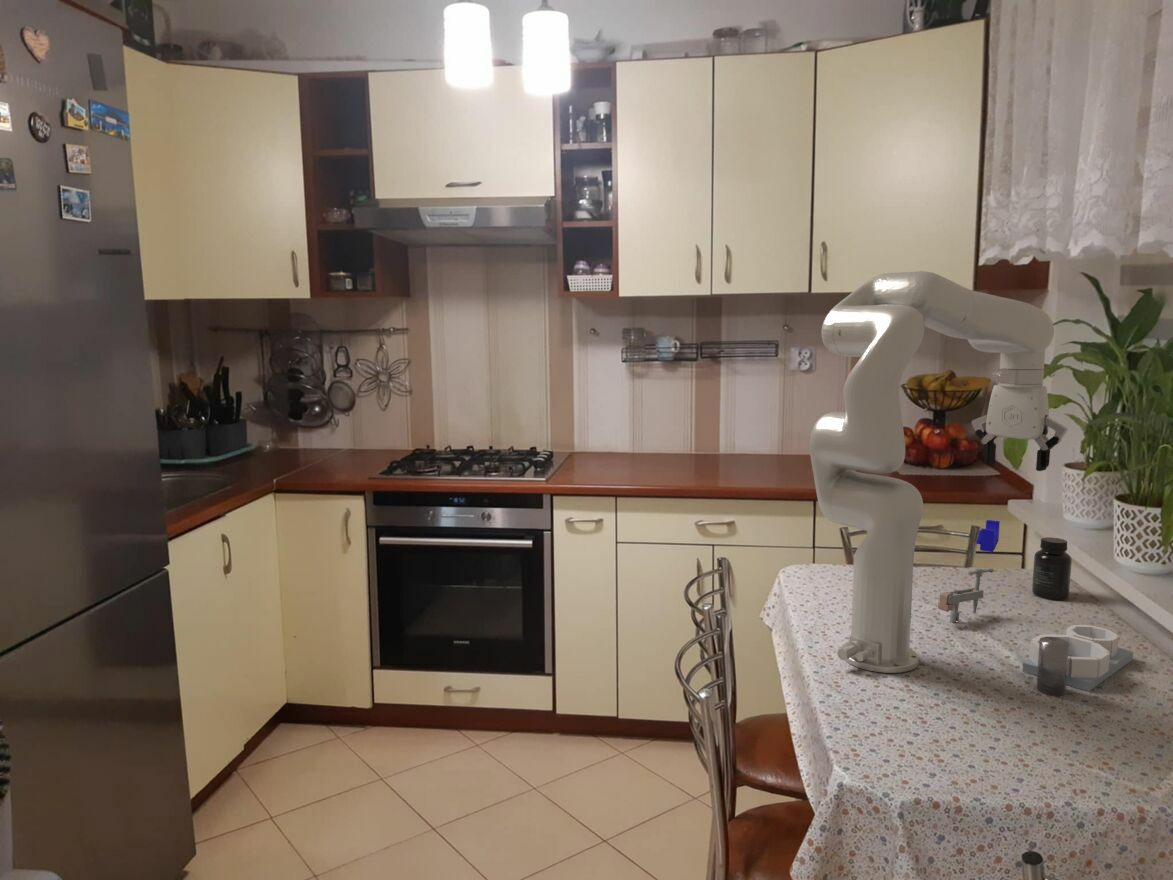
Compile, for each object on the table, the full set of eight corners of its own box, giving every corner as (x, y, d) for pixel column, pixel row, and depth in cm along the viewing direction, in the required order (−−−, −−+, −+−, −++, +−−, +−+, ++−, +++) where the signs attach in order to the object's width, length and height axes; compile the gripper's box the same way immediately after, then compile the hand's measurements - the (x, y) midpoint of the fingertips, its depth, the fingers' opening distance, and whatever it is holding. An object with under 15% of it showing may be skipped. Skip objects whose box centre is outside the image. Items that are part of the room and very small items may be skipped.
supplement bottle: (1049, 589, 180) (1053, 534, 179) (1076, 598, 174) (1081, 542, 172) (1024, 592, 178) (1027, 537, 177) (1051, 602, 172) (1055, 545, 170)
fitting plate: (1090, 692, 130) (1092, 665, 130) (1019, 671, 138) (1021, 645, 138) (1134, 660, 142) (1136, 634, 142) (1067, 642, 151) (1069, 618, 150)
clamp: (946, 626, 157) (951, 575, 156) (935, 623, 159) (940, 572, 158) (991, 617, 166) (997, 567, 165) (981, 614, 168) (986, 565, 167)
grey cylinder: (1059, 698, 128) (1062, 648, 127) (1031, 689, 132) (1035, 641, 130) (1069, 690, 131) (1073, 642, 130) (1042, 682, 134) (1046, 634, 133)
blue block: (979, 541, 220) (980, 519, 219) (998, 543, 218) (999, 521, 217) (973, 552, 210) (974, 528, 209) (992, 554, 208) (994, 531, 207)
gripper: (966, 377, 164) (961, 463, 166) (1061, 381, 151) (1054, 475, 153) (984, 375, 169) (978, 459, 171) (1077, 379, 156) (1070, 470, 158)
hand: (1014, 466), depth 162 cm, fingers open, 9 cm apart
